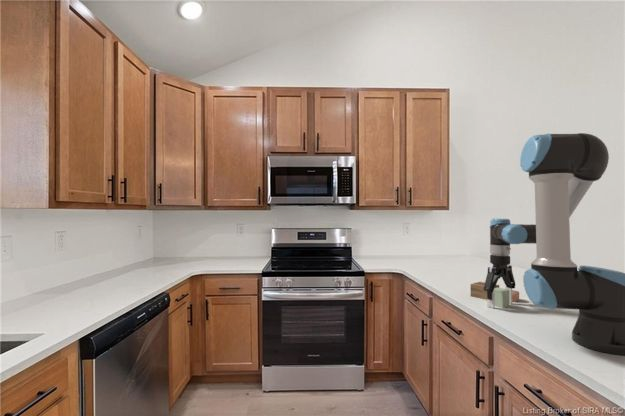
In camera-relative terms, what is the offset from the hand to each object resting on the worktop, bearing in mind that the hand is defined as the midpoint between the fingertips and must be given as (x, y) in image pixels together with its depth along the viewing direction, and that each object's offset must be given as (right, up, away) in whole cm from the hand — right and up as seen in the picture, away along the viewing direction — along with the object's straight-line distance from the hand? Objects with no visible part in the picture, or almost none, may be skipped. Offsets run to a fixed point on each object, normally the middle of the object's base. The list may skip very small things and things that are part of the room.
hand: (499, 305), depth 143 cm
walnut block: (+1, 0, +14) cm, 14 cm away
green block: (0, 0, 0) cm, 0 cm away
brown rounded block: (+10, 0, +9) cm, 13 cm away
